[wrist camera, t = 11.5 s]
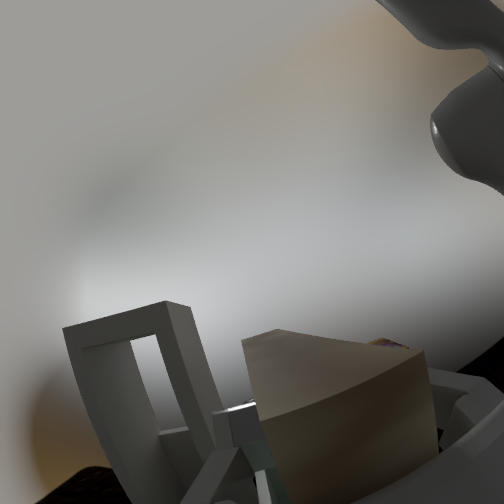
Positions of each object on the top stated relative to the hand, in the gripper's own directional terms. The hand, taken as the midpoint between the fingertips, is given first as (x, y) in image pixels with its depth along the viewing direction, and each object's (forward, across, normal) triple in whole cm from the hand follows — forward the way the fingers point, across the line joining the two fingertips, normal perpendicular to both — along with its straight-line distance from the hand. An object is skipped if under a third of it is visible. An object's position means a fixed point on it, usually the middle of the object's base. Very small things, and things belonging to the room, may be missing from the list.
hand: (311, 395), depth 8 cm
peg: (+5, 0, +5) cm, 7 cm away
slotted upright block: (+6, +11, +26) cm, 29 cm away
